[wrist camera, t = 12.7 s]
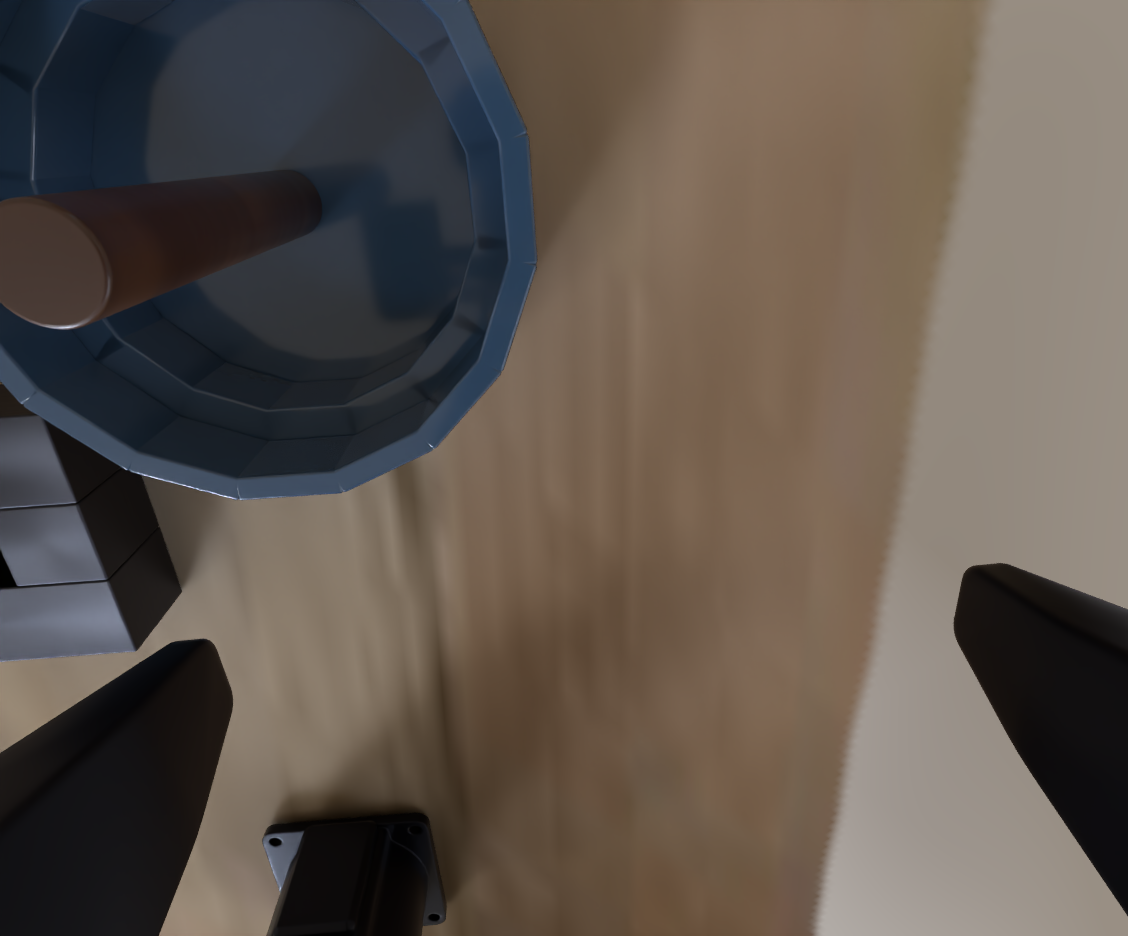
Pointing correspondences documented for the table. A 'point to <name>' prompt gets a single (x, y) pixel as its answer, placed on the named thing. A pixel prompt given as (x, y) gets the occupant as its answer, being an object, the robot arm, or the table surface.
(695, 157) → the table surface
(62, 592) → the holder
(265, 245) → the stick
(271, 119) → the bowl
